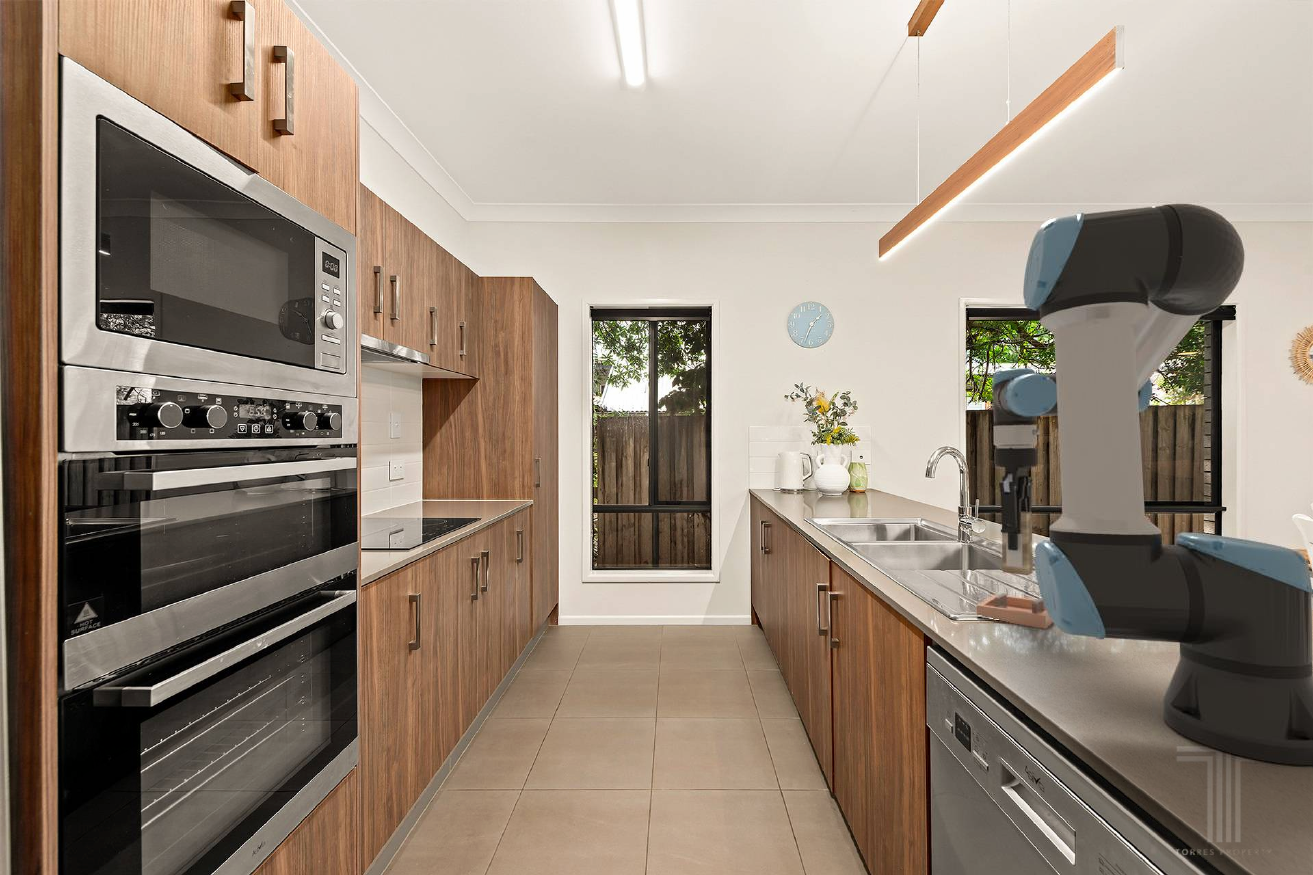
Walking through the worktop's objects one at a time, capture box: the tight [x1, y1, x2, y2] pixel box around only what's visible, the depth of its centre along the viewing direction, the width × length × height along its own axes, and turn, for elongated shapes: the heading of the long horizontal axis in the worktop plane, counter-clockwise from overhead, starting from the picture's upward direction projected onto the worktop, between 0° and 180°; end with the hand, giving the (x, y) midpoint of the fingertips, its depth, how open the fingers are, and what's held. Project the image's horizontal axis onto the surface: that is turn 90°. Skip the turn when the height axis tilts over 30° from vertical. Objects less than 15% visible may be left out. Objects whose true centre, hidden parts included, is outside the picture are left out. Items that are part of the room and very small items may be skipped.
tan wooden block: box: [1001, 511, 1034, 576], centre depth 127 cm, size 4×4×12 cm
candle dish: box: [976, 592, 1054, 630], centre depth 127 cm, size 12×12×4 cm
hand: (1017, 564), depth 127 cm, fingers closed on tan wooden block, 3 cm apart
